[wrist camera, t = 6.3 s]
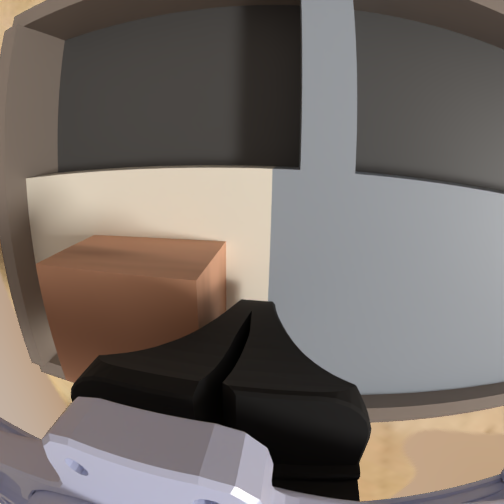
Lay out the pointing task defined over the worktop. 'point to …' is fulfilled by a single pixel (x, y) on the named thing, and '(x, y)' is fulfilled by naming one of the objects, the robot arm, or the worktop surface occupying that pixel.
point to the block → (129, 294)
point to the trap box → (279, 171)
